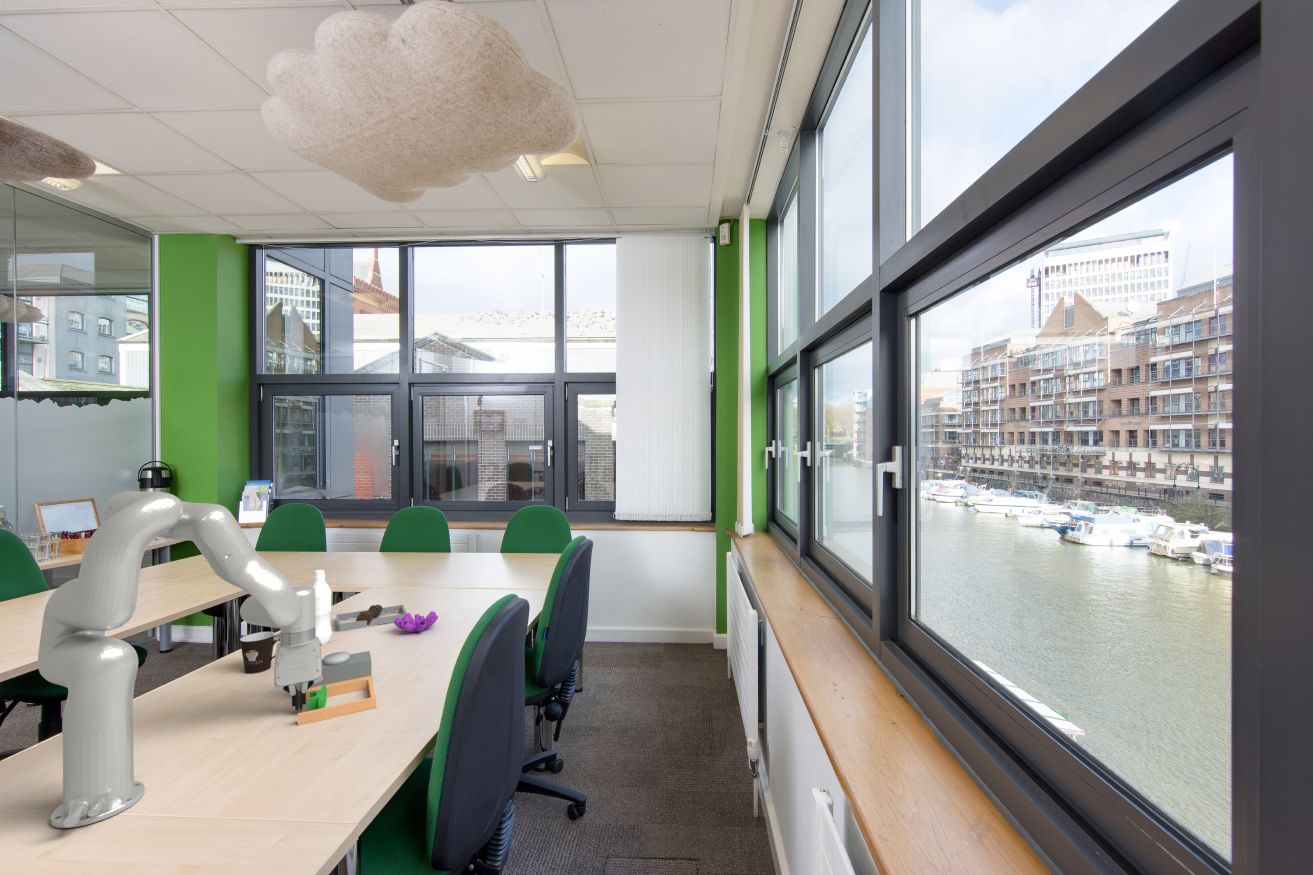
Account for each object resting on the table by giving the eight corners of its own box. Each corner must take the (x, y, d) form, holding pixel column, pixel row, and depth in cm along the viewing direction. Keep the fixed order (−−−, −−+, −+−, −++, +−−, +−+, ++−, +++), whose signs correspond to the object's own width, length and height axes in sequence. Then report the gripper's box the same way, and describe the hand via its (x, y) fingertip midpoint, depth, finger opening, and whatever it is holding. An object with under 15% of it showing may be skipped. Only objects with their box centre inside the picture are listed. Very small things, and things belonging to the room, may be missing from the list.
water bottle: (337, 640, 195) (336, 568, 196) (319, 647, 188) (319, 573, 189) (320, 638, 197) (319, 567, 198) (302, 646, 190) (302, 572, 191)
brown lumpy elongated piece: (380, 617, 225) (365, 629, 210) (368, 611, 224) (353, 623, 209) (388, 604, 225) (374, 615, 210) (376, 598, 225) (361, 609, 209)
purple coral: (437, 639, 204) (435, 623, 199) (392, 644, 200) (389, 627, 195) (440, 613, 213) (438, 597, 208) (397, 617, 209) (394, 601, 204)
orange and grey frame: (375, 707, 145) (375, 674, 145) (297, 725, 136) (297, 690, 136) (369, 674, 166) (369, 645, 166) (301, 687, 157) (301, 657, 157)
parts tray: (407, 620, 217) (407, 613, 217) (337, 631, 205) (336, 624, 205) (402, 610, 229) (402, 604, 229) (336, 620, 217) (336, 614, 217)
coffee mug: (233, 673, 168) (232, 640, 168) (259, 662, 176) (259, 630, 176) (264, 677, 165) (264, 643, 165) (289, 665, 173) (289, 633, 174)
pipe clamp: (311, 703, 148) (311, 687, 148) (326, 700, 150) (326, 684, 150) (306, 720, 139) (306, 703, 139) (323, 717, 140) (323, 700, 140)
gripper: (261, 646, 136) (261, 722, 136) (332, 634, 143) (333, 706, 143) (263, 637, 142) (264, 709, 142) (332, 626, 150) (332, 695, 150)
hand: (299, 707), depth 143 cm, fingers closed
